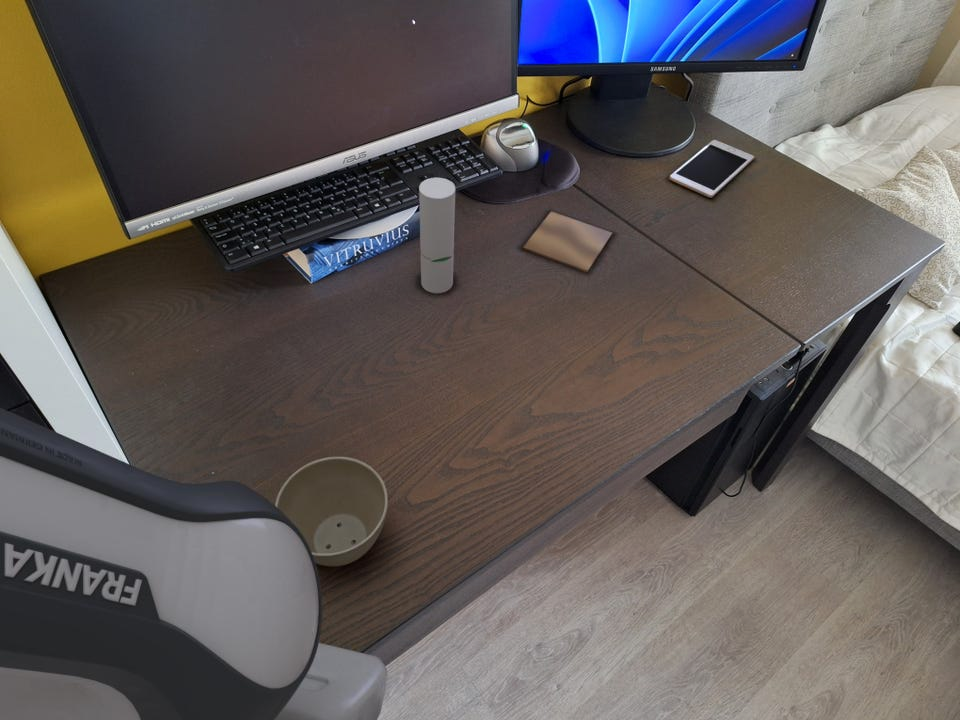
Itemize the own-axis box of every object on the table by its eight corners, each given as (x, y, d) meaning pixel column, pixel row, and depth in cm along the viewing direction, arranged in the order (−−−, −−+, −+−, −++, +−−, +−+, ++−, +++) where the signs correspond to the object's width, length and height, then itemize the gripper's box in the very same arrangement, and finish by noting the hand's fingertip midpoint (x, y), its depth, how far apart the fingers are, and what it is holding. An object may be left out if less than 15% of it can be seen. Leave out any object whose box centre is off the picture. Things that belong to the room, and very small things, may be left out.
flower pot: (373, 481, 70) (368, 442, 64) (405, 566, 64) (402, 531, 58) (277, 514, 67) (263, 475, 61) (301, 606, 61) (288, 572, 55)
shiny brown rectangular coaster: (587, 273, 93) (587, 270, 93) (522, 249, 96) (523, 246, 96) (612, 234, 99) (612, 232, 99) (550, 213, 102) (551, 211, 102)
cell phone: (754, 159, 115) (755, 156, 115) (711, 198, 107) (712, 195, 106) (713, 142, 118) (714, 139, 118) (668, 179, 110) (669, 176, 109)
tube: (415, 287, 90) (412, 192, 78) (429, 268, 92) (428, 174, 81) (444, 296, 89) (446, 202, 77) (457, 277, 91) (461, 183, 80)
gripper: (359, 721, 34) (416, 608, 48) (1, 632, 37) (153, 548, 50) (340, 835, 35) (402, 691, 49) (-12, 740, 37) (142, 628, 51)
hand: (273, 617), depth 49 cm, fingers closed
